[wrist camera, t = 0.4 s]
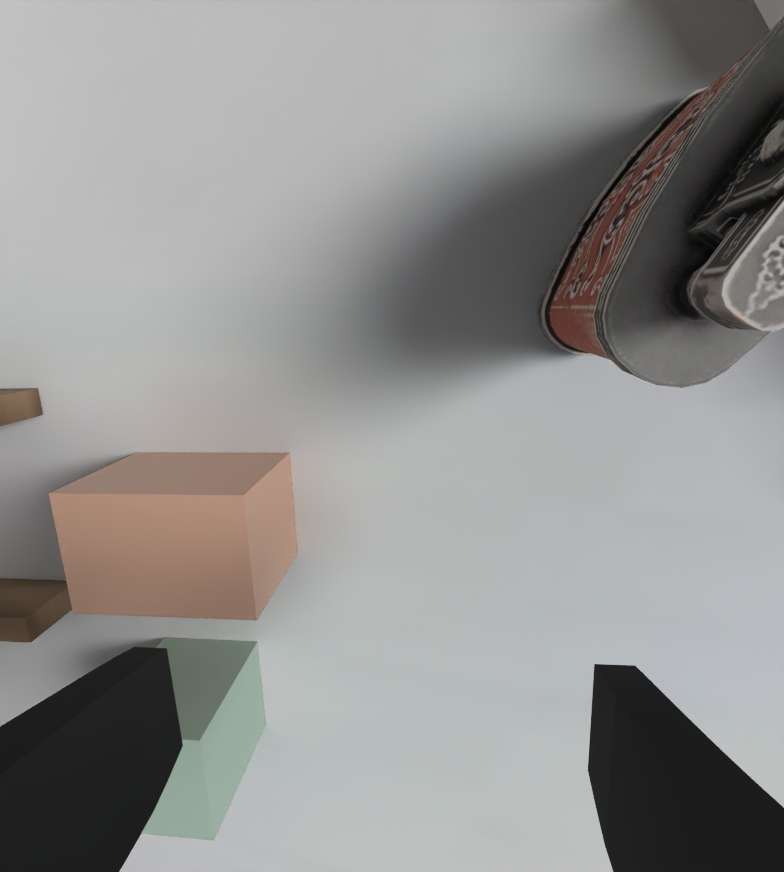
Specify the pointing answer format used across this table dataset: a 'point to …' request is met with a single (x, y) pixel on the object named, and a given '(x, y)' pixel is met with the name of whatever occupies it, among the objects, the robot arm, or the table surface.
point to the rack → (27, 599)
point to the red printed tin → (684, 236)
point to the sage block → (209, 733)
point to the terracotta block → (178, 534)
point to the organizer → (771, 11)
